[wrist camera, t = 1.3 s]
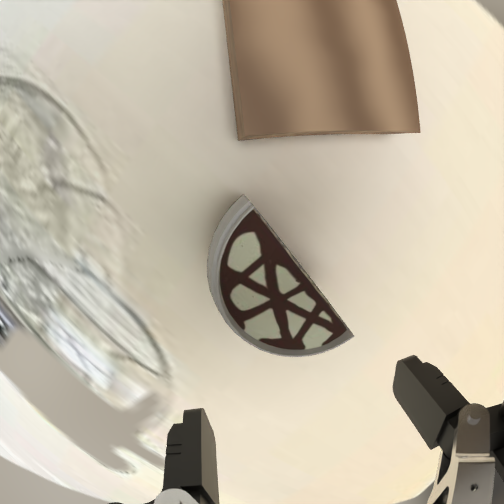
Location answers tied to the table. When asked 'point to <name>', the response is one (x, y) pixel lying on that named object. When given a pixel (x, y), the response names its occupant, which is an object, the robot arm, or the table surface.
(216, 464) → the robot arm
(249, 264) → the half-round tin
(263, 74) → the brown wooden block
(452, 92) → the table surface
